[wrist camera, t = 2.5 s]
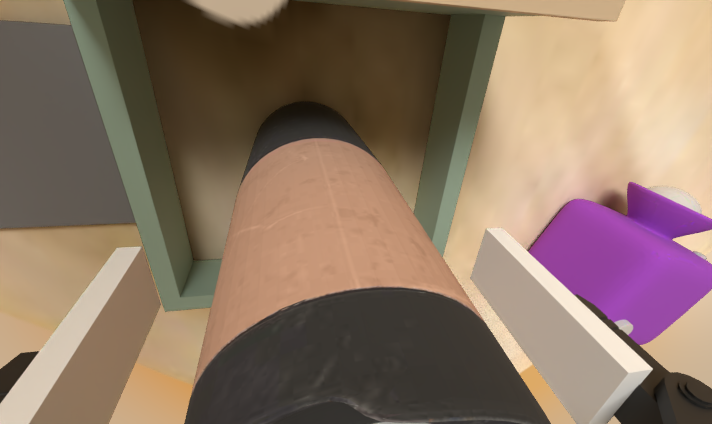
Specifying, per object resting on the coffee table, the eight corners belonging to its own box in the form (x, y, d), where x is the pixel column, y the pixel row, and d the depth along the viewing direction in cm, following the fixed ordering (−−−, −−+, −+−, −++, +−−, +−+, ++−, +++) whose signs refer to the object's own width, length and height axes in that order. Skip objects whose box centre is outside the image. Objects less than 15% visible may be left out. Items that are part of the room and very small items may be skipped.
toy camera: (658, 172, 31) (801, 229, 22) (581, 280, 37) (669, 356, 29) (571, 156, 28) (698, 216, 19) (503, 277, 34) (576, 361, 26)
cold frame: (92, -54, 15) (-179, -157, 6) (474, -10, 20) (640, -36, 11) (180, 273, 26) (125, 411, 17) (417, 256, 30) (476, 359, 21)
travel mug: (337, 210, 26) (443, 571, 9) (239, 184, 23) (123, 635, 6) (376, 119, 23) (653, 414, 6) (267, 77, 20) (188, 402, 3)
